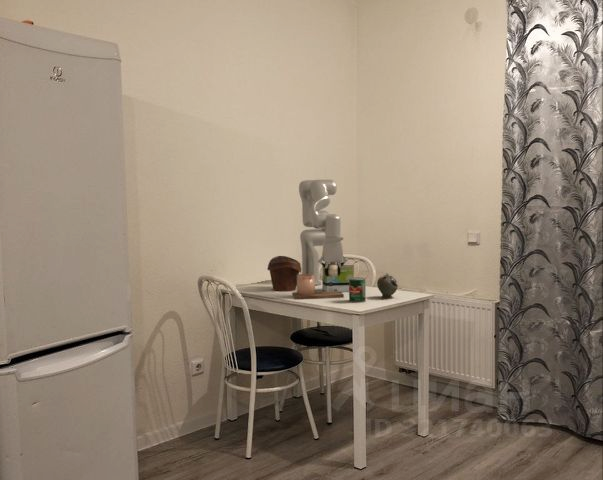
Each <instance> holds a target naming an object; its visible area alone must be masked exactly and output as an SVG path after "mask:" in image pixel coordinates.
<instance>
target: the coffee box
mask: <svg viewBox="0 0 603 480" xmlns="http://www.w3.org/2000/svg"><path fill="white" fill-rule="evenodd" d="M323 263H324V264H325V262H323ZM329 264H330V263H329ZM335 264H337V262H335ZM321 277H322V281H321V286H322V288H321V289H322V291H339V292H341V293H349V278H353V277H355V265H354V264H352V263H350V262H346V263H345V264H344V265H343V266H342V267H341V273H340V276H338V277H328V276H326V274H325V267H324V266H322V276H321Z"/></svg>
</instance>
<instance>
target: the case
mask: <svg viewBox="0 0 603 480" xmlns="http://www.w3.org/2000/svg"><path fill="white" fill-rule="evenodd" d="M267 271H269V274H270V280H271V284H272V285H271V286H272V291H277V292H292V291H295V290H297V275H299V274H302V264H301V262H300V261H298V260H296V259H294V258H292V257H289V256H286V255H277V256H274V257H272V258H271V259H270V261H269V262H268V265H267Z"/></svg>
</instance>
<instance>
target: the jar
mask: <svg viewBox="0 0 603 480" xmlns="http://www.w3.org/2000/svg"><path fill="white" fill-rule="evenodd" d="M296 292H297V295H314V294H315V292H316V285H315V275H313V274H302V273H299V275H297V287H296Z"/></svg>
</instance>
